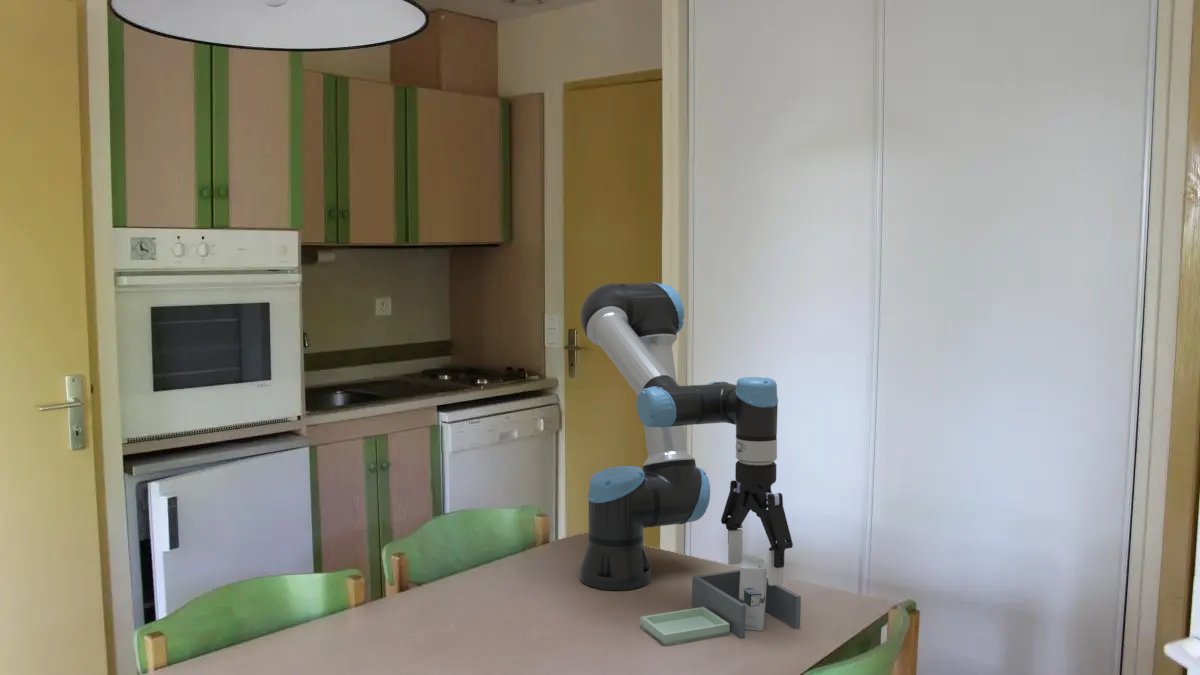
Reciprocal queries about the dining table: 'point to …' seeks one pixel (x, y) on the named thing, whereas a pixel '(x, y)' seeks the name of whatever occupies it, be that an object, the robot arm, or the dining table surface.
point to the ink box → (753, 590)
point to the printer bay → (724, 602)
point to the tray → (684, 626)
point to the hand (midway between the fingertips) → (754, 573)
